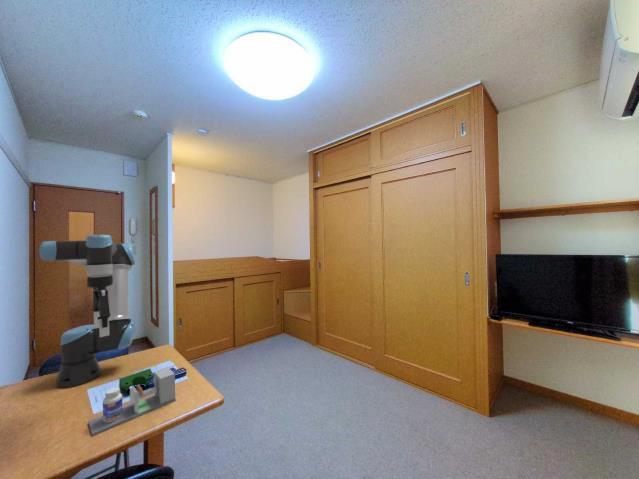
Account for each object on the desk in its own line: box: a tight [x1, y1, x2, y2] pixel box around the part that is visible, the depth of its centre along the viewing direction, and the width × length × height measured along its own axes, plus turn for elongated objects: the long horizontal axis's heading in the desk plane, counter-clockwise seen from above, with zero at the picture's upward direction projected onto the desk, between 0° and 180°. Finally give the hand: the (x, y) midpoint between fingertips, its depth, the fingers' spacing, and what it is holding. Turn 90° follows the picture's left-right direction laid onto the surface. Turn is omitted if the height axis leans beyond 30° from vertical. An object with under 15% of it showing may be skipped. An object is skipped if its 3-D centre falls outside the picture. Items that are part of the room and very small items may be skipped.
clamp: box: [118, 368, 154, 393], centre depth 113 cm, size 12×6×9 cm, turn 132°
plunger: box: [129, 385, 159, 413], centre depth 103 cm, size 7×14×7 cm, turn 137°
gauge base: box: [88, 366, 177, 437], centre depth 98 cm, size 9×25×10 cm, turn 137°
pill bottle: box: [102, 386, 123, 423], centre depth 93 cm, size 5×5×10 cm
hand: (101, 331), depth 101 cm, fingers open, 13 cm apart
